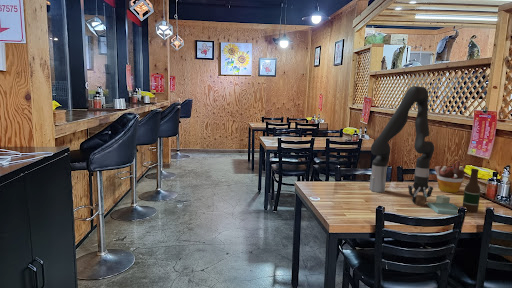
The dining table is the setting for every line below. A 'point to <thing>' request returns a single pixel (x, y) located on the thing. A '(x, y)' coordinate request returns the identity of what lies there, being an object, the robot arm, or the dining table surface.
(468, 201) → the beer bottle
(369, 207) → the dining table surface
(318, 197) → the dining table surface
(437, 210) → the teal tray
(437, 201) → the sage block
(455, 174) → the bucket of meat
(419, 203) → the walnut block
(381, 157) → the robot arm
